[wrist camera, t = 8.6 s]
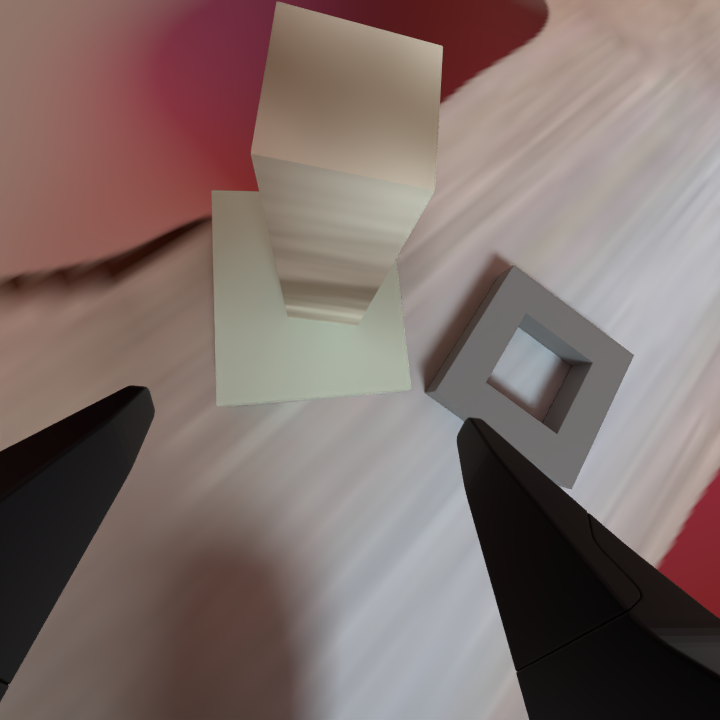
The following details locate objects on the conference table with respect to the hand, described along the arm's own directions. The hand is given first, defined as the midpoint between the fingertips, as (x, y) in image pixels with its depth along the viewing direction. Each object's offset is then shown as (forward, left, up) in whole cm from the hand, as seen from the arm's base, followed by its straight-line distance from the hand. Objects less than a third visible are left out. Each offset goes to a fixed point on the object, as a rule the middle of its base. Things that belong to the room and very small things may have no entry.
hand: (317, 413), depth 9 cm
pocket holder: (+1, -17, -13) cm, 22 cm away
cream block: (+8, -1, -10) cm, 13 cm away
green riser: (+8, 0, -13) cm, 16 cm away
